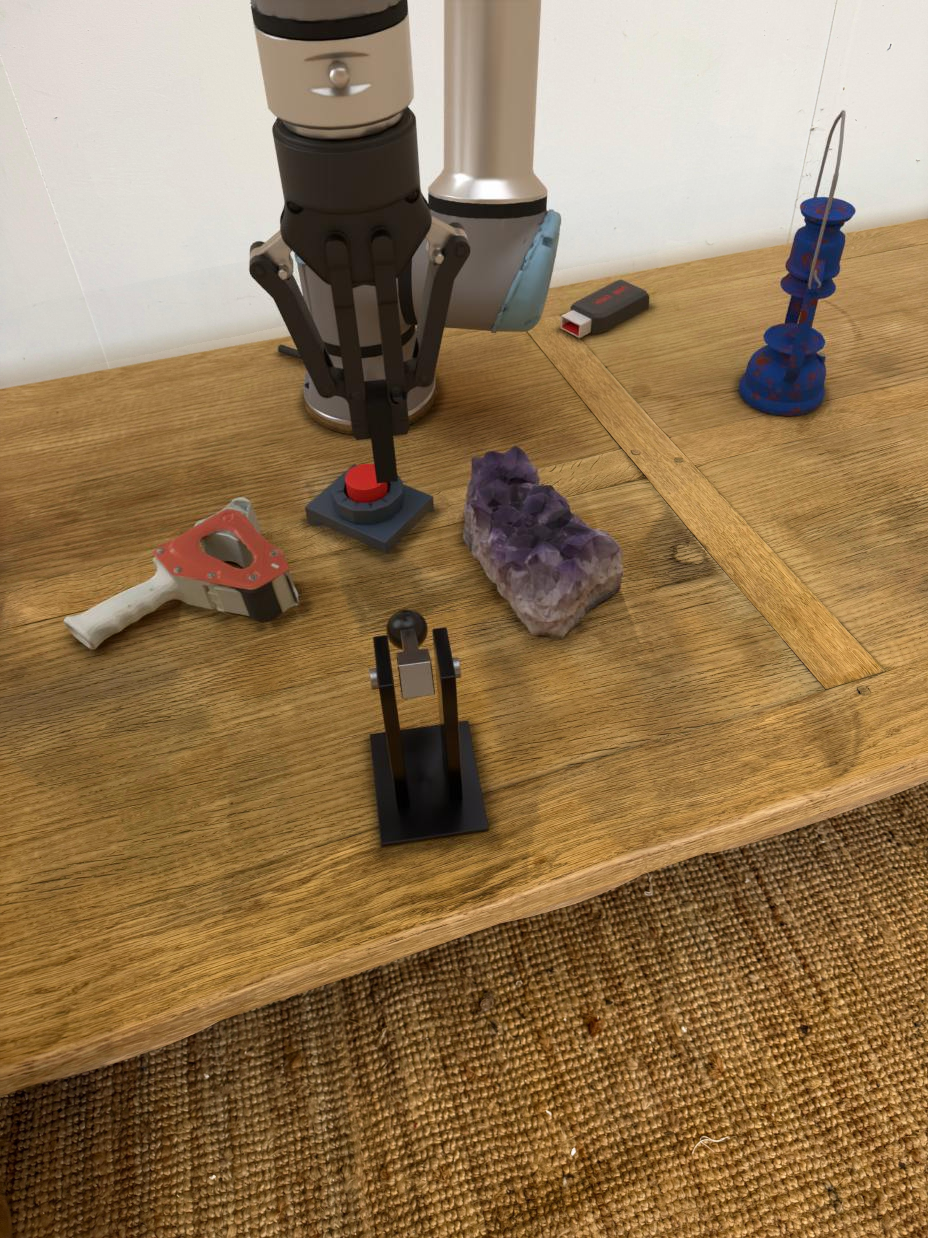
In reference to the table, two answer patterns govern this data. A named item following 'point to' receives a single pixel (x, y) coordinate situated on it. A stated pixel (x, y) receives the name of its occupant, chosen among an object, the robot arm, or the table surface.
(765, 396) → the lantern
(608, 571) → the geode
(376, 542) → the button box
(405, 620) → the switch lever
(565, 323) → the usb drive
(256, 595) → the tape dispenser
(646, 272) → the table surface
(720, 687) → the table surface
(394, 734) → the switch bracket
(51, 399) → the table surface
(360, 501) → the button
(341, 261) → the robot arm
